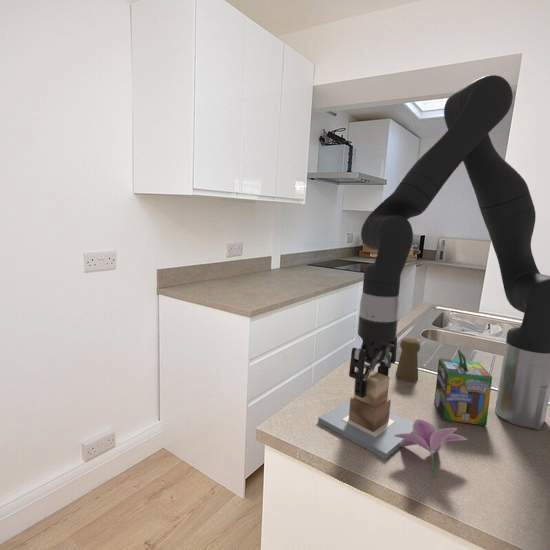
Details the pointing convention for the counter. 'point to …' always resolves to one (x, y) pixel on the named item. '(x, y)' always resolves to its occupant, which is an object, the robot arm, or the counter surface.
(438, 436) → the lily
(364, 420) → the walnut block
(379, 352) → the robot arm
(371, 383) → the oak cube
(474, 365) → the chalk box
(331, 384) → the counter surface
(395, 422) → the board
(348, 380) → the counter surface
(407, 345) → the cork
